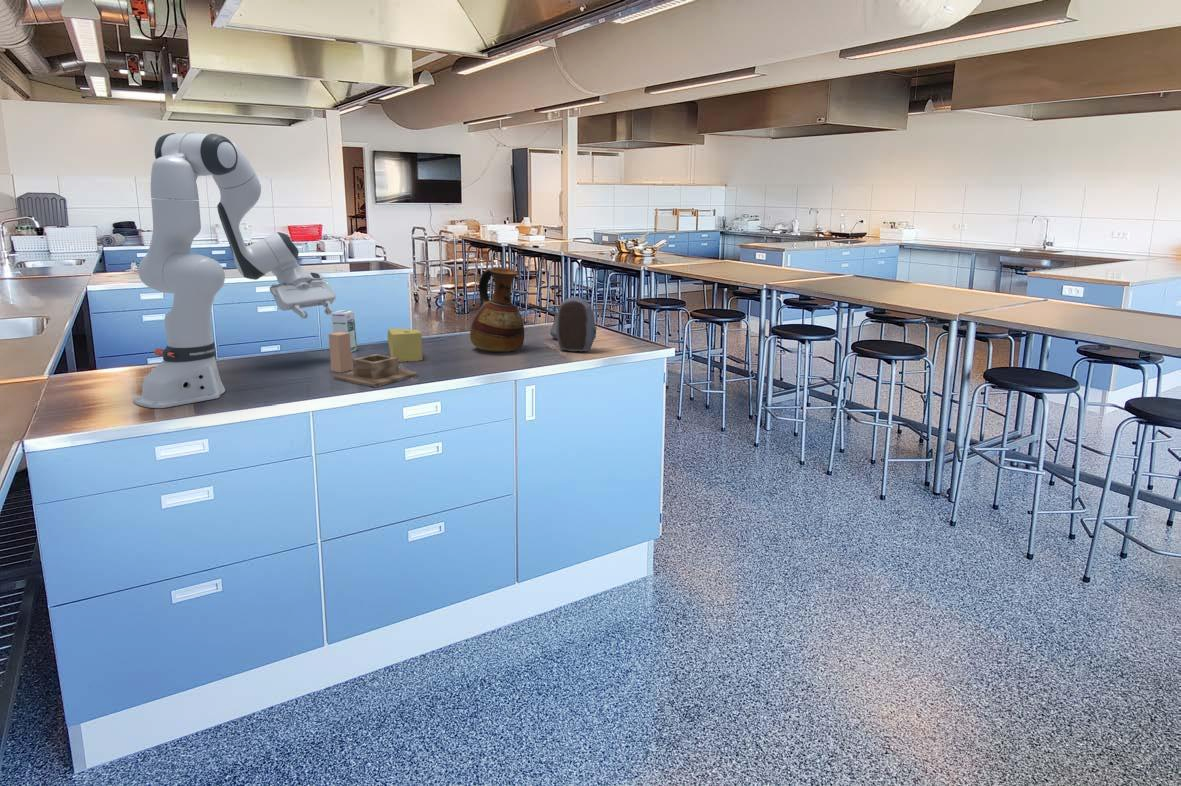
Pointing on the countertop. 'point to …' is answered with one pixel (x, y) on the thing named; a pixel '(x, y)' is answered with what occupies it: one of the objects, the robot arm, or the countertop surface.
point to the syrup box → (345, 325)
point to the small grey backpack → (575, 325)
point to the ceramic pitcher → (497, 315)
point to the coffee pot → (553, 328)
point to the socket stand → (375, 371)
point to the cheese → (405, 344)
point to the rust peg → (340, 352)
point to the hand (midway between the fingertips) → (317, 315)
